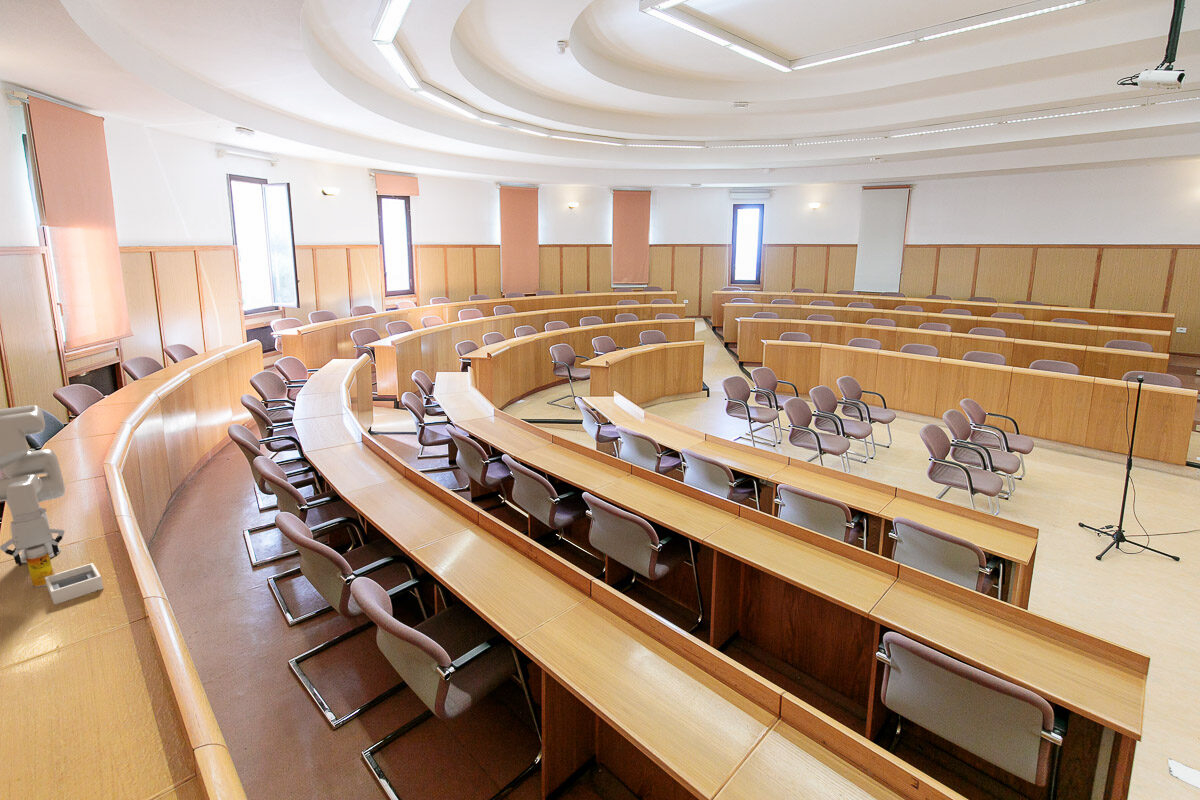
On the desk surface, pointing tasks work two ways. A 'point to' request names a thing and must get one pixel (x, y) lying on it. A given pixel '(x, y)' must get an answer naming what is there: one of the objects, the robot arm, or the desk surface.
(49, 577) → the socket box
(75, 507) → the desk surface
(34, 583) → the beer can
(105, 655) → the desk surface
